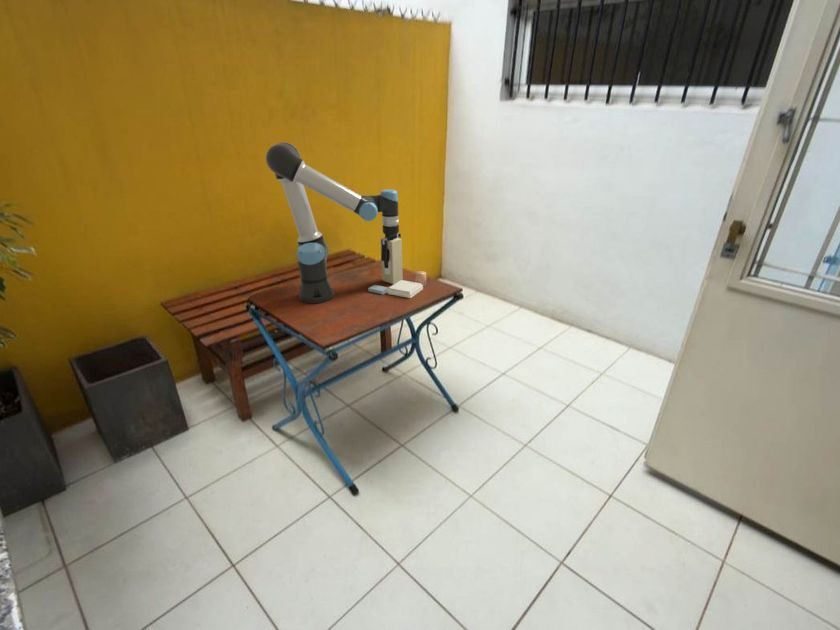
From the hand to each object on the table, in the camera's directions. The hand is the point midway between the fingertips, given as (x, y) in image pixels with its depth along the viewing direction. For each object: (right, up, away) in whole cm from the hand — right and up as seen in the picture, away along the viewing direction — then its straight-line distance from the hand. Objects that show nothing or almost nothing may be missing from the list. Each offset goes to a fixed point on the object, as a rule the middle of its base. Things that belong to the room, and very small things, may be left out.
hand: (392, 271), depth 209 cm
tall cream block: (0, -4, +2) cm, 5 cm away
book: (-6, -11, -9) cm, 15 cm away
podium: (+7, -10, -10) cm, 16 cm away
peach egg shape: (+14, -7, -3) cm, 16 cm away
